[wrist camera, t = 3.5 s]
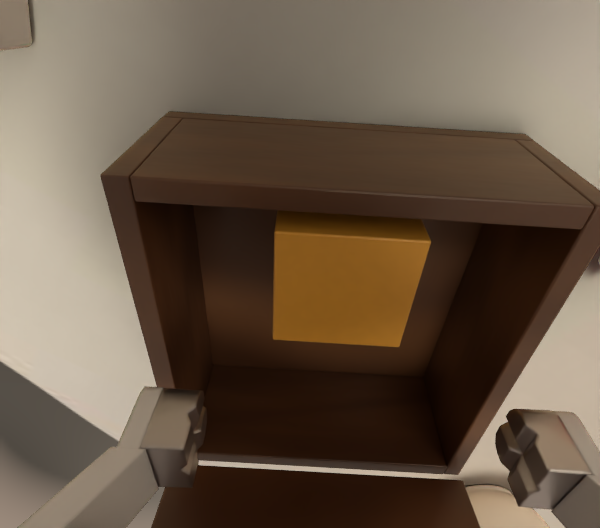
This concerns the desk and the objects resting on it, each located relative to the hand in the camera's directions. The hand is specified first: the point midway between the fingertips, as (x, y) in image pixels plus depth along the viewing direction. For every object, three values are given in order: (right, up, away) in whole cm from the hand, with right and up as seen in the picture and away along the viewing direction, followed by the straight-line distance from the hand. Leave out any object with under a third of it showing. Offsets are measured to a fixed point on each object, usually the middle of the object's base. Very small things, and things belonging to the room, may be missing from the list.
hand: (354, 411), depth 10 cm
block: (0, +6, +7) cm, 9 cm away
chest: (0, +3, +10) cm, 11 cm away
